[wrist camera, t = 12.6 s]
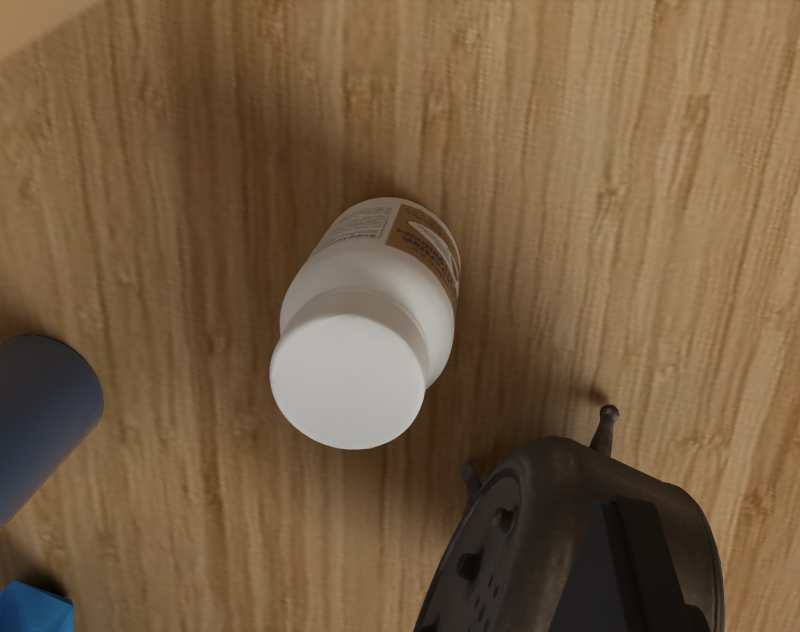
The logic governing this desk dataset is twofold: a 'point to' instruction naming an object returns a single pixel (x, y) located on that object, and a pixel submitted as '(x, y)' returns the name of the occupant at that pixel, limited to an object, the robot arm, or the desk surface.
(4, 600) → the crystal
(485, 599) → the alarm clock
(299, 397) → the pill bottle
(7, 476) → the post mid
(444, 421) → the desk surface
